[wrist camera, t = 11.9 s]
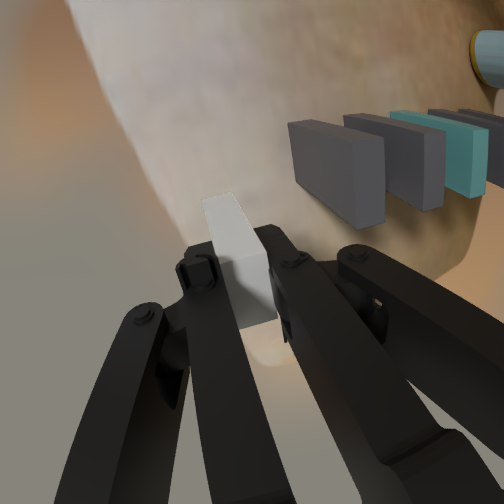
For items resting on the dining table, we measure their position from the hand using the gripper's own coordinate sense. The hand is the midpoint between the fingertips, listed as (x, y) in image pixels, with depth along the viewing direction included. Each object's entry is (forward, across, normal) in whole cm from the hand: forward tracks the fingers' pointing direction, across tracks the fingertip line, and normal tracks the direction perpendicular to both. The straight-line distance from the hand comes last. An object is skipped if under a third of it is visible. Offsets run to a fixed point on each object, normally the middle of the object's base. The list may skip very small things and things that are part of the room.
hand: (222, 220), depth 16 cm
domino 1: (+9, +8, 0) cm, 12 cm away
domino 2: (+9, +13, 0) cm, 16 cm away
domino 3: (+9, +18, 0) cm, 20 cm away
